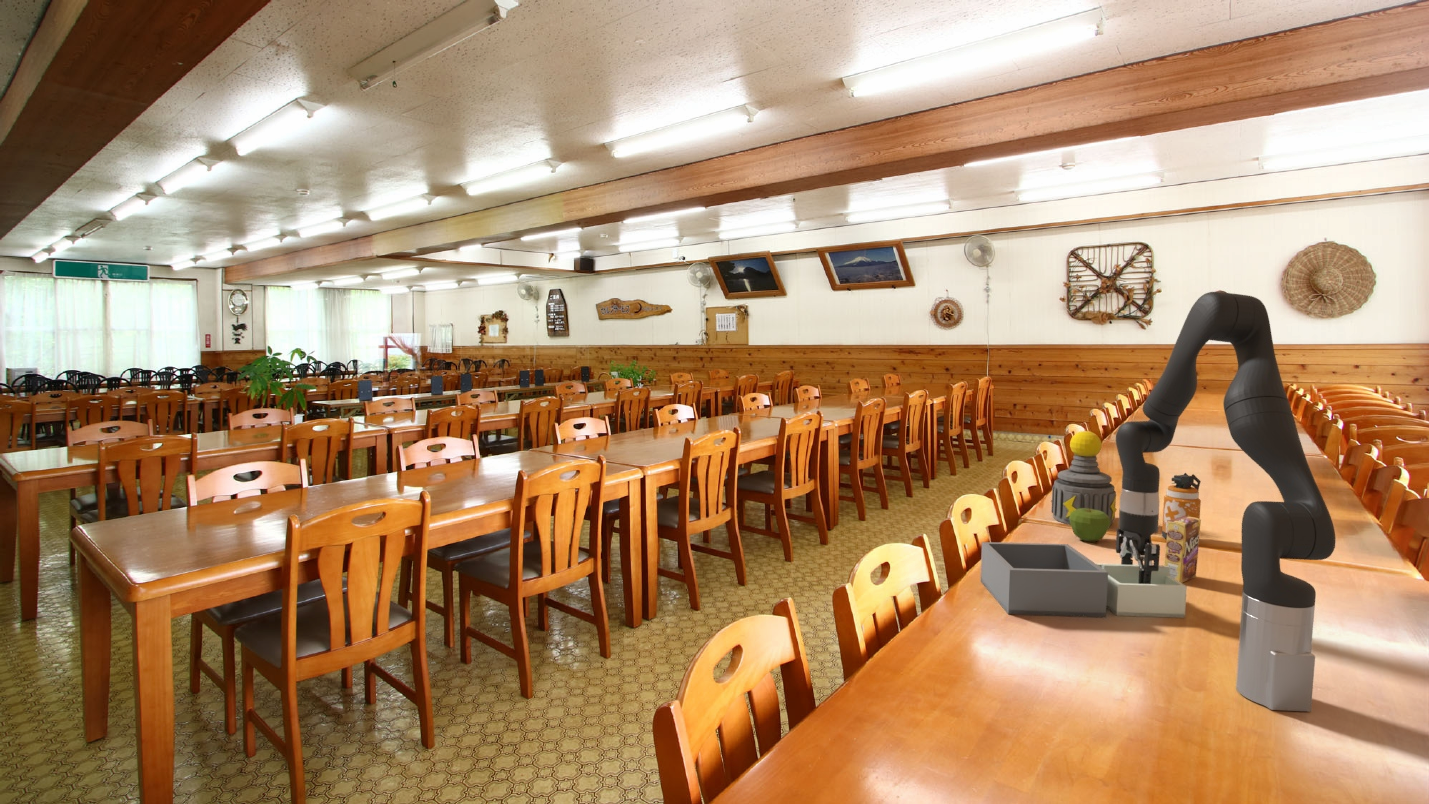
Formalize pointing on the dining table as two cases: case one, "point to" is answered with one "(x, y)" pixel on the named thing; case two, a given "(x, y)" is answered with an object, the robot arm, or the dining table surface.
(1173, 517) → the canister
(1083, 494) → the decorative lamp
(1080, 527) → the apple
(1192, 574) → the candy box
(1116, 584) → the small crate
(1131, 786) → the dining table surface
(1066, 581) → the big crate
